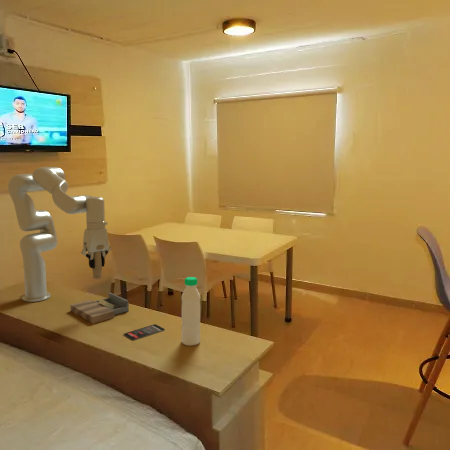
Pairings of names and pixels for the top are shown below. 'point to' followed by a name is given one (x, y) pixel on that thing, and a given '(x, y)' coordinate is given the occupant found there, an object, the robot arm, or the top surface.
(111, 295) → the box
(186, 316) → the water bottle
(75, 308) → the board
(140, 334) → the smartphone
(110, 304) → the tile
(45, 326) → the top surface
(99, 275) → the handle
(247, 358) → the top surface
